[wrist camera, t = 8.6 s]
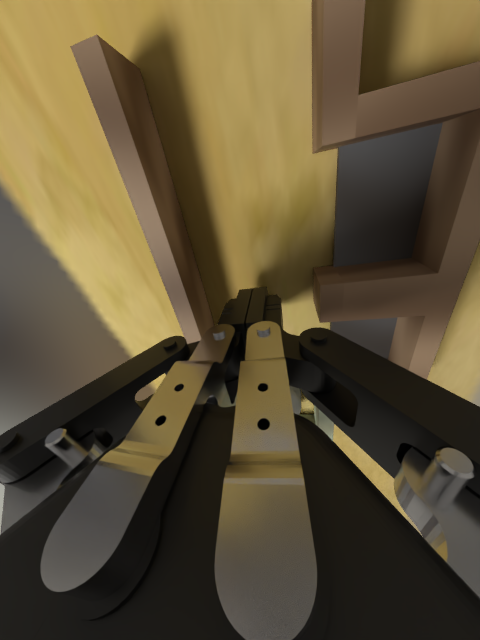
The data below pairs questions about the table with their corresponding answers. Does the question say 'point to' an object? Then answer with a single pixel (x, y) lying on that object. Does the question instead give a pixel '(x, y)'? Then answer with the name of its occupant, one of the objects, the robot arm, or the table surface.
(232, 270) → the table surface
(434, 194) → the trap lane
